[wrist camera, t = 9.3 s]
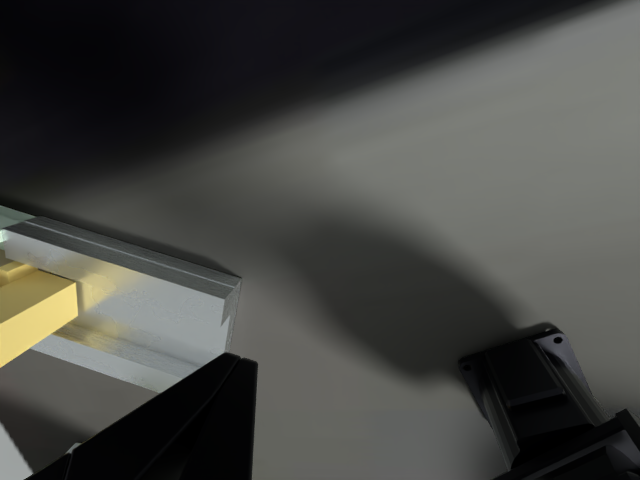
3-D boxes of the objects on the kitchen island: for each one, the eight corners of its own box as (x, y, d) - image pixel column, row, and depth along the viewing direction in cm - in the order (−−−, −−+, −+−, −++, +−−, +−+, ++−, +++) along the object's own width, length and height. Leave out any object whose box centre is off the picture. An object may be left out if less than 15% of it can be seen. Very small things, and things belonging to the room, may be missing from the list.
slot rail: (241, 278, 22) (224, 298, 20) (224, 382, 26) (207, 410, 24) (41, 215, 24) (1, 227, 21) (52, 324, 27) (19, 345, 25)
